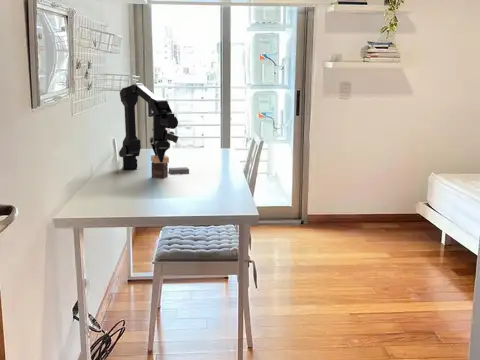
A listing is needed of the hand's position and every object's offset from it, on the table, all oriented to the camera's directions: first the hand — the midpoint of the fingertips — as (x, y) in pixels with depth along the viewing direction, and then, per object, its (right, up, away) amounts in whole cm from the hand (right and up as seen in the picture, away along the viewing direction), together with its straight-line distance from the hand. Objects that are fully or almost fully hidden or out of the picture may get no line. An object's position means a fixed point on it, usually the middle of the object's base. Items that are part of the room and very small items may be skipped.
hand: (159, 160), depth 249 cm
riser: (+7, -5, +13) cm, 16 cm away
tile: (0, -1, 0) cm, 1 cm away
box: (0, -8, +2) cm, 8 cm away
